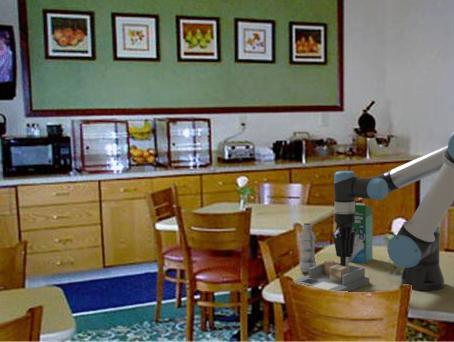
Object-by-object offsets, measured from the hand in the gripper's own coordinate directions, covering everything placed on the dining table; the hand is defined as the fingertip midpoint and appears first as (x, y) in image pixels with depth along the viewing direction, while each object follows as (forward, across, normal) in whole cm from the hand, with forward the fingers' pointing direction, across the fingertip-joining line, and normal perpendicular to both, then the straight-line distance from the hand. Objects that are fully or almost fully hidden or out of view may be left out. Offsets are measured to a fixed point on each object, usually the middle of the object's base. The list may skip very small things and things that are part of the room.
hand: (344, 273), depth 220 cm
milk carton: (+4, -32, -14) cm, 35 cm away
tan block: (+2, 0, -7) cm, 7 cm away
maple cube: (+2, +4, 0) cm, 4 cm away
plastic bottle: (+4, -2, -19) cm, 19 cm away
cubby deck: (+4, +6, -3) cm, 7 cm away
